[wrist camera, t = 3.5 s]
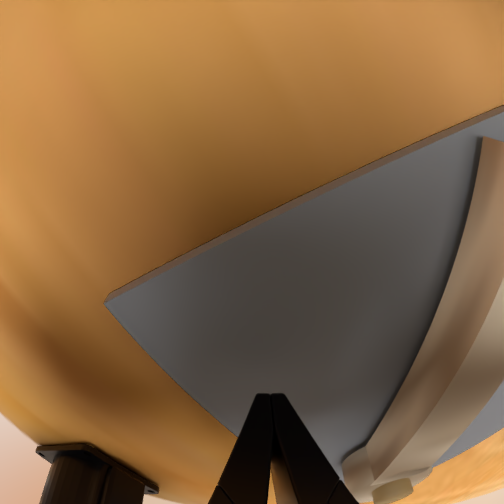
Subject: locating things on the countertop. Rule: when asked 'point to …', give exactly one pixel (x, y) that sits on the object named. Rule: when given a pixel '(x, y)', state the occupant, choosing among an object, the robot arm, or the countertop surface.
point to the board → (321, 296)
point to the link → (446, 356)
